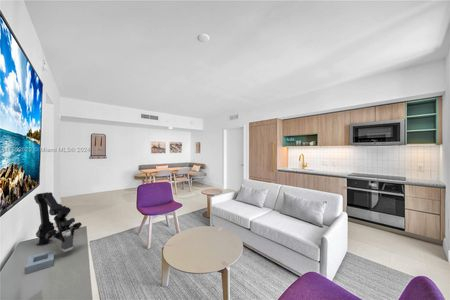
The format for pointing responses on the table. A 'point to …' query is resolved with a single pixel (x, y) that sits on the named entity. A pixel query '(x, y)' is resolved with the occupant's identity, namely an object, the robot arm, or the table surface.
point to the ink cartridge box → (69, 226)
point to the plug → (67, 241)
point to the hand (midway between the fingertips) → (68, 240)
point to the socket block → (39, 261)
